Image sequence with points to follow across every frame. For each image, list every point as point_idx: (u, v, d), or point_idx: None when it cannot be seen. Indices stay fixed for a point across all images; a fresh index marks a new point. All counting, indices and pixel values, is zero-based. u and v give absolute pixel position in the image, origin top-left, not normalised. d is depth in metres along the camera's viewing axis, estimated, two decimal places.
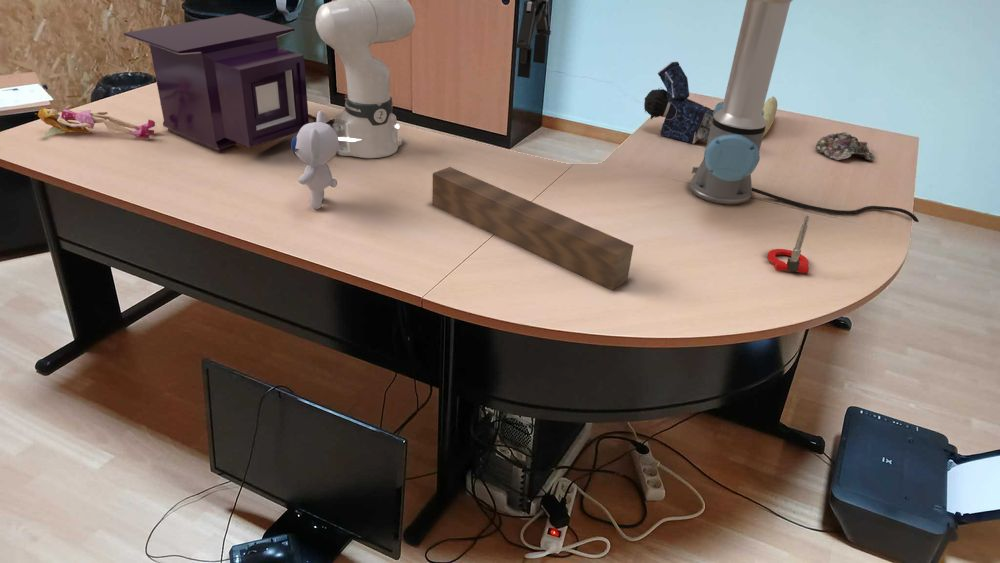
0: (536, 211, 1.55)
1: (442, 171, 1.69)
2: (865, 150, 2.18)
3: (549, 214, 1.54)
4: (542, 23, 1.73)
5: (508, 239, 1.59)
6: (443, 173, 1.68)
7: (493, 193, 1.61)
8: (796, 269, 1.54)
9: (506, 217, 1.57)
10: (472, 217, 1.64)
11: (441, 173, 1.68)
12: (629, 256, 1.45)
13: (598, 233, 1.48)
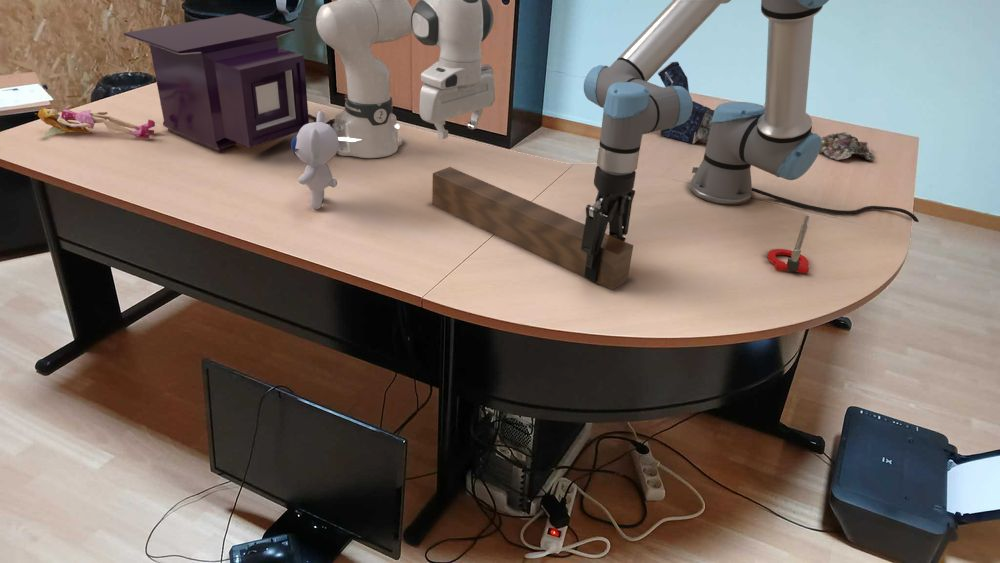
0: (536, 211, 1.55)
1: (442, 171, 1.69)
2: (865, 150, 2.18)
3: (549, 214, 1.54)
4: (616, 224, 1.45)
5: (508, 239, 1.59)
6: (443, 173, 1.68)
7: (494, 193, 1.61)
8: (796, 269, 1.54)
9: (506, 217, 1.57)
10: (472, 217, 1.64)
11: (441, 173, 1.68)
12: (629, 256, 1.45)
13: None
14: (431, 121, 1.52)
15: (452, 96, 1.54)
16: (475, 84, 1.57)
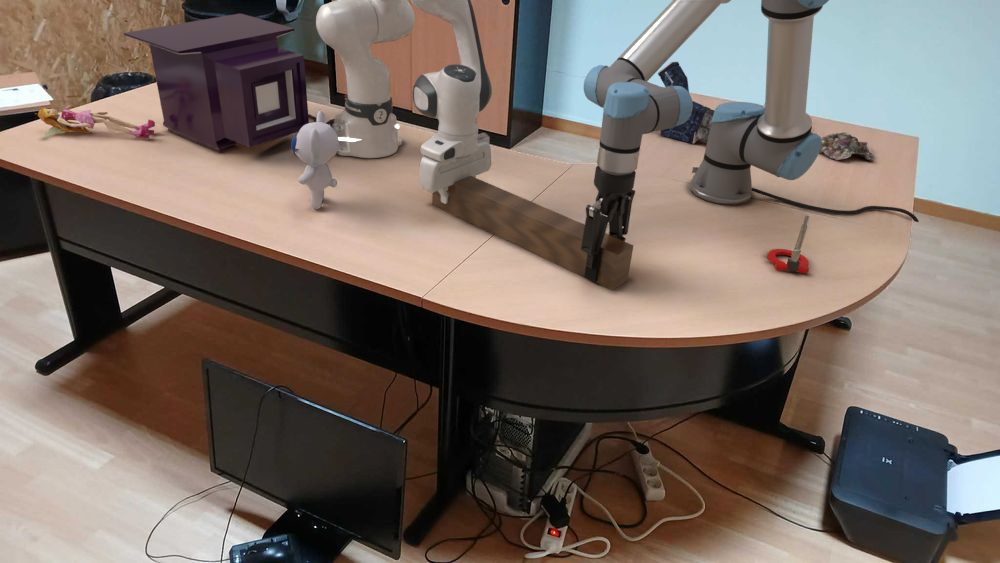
0: (536, 211, 1.55)
1: None
2: (865, 150, 2.18)
3: (549, 214, 1.54)
4: (616, 224, 1.45)
5: (508, 239, 1.59)
6: None
7: (494, 193, 1.61)
8: (796, 269, 1.54)
9: (506, 217, 1.57)
10: (472, 217, 1.64)
11: None
12: (629, 256, 1.45)
13: None
14: (430, 190, 1.60)
15: (450, 166, 1.62)
16: (472, 153, 1.65)
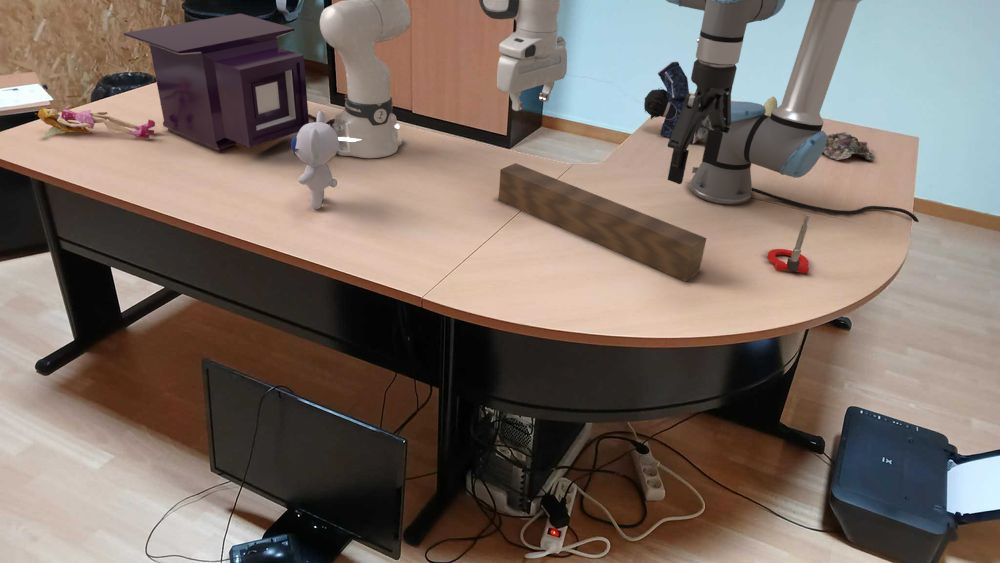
0: (607, 206, 1.59)
1: (509, 167, 1.73)
2: (865, 150, 2.18)
3: (620, 209, 1.58)
4: (717, 119, 1.40)
5: (578, 233, 1.64)
6: (510, 169, 1.72)
7: (563, 188, 1.65)
8: (796, 269, 1.54)
9: (577, 212, 1.62)
10: (541, 212, 1.69)
11: (508, 169, 1.73)
12: (702, 249, 1.49)
13: (670, 226, 1.52)
14: (509, 91, 1.53)
15: (529, 67, 1.55)
16: (550, 56, 1.58)
